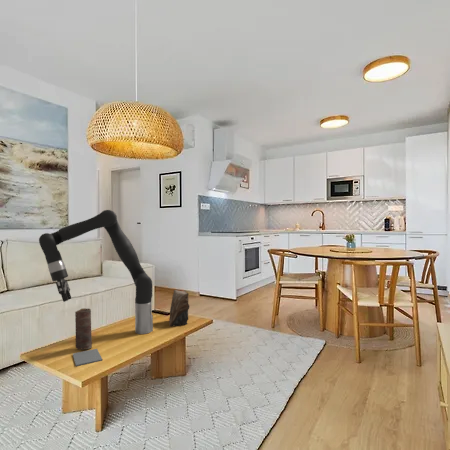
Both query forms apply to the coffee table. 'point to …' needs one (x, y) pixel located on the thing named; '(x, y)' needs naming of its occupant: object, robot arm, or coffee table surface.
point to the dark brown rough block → (179, 309)
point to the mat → (86, 357)
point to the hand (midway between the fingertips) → (67, 300)
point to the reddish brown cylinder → (83, 329)
